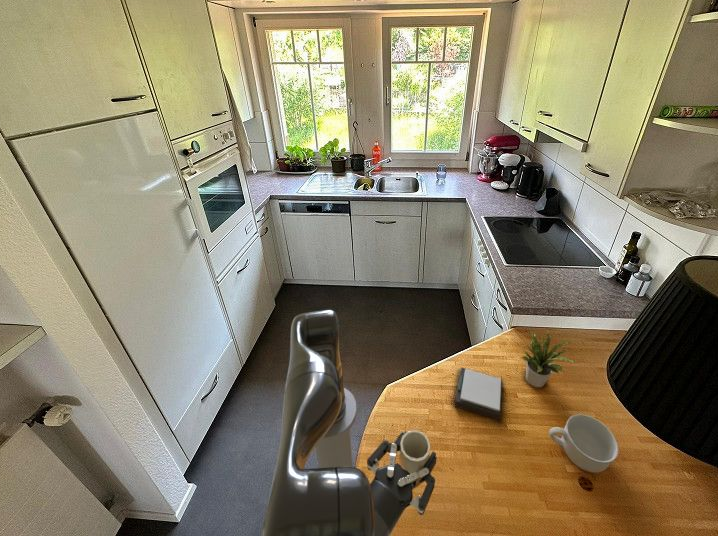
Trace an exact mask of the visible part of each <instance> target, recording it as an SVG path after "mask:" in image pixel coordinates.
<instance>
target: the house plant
mask: <svg viewBox="0 0 718 536" xmlns="http://www.w3.org/2000/svg"><path fill="white" fill-rule="evenodd" d="M529 332H530V335H531V338H532V340H531V342H529V345H530V346H531V347H530V346H528V345H527V344H525V343H521V345H522V346H524V347H525V348H527V349H528V350H529V351H530V352H531V354H532V355H533V356H531V354H529V353H528V352H527V351H526V350H525V349H522V352H524V354H525V356H521V357H519V358H520V359H523V361H526V367H525V368H526V369H525V380H526V382H527V383H528V384H529V385H530V386H532V387H534V388H542V387H544V385H545V384H546V383H547V381H548V380H549V378H550V377H551V375H553V374H552V373H556V374H558V375H560V373H559V371H560V372H561V373H563V367H562V366H561V364H558V363H553V362H556V361H560V360H561V361H568V362H570V363H573V364H576V362H575V361H574V360H572V359H571V358H568V357H564V356H561V355H564V354H565V353H566V352H570V350H569V349H564V350H561V351H558V352H557V350H559V349H560V348H562V347H564V346H566V345H567V344H569V343H571V341H563V342H560V343H558V344H556V345H555V346H553V347H552V348H551V350H549V348H550V344H551V335H550V331H549V329H547V330H546V335H545V337H546V338H545V340H544V338H543V336H542V334H541V333H539V336H540V338H541V339H540V338H539V339H537V335H536V333H534V332H532V331H531V330H529ZM541 342H542V343H541ZM548 351H549V352H548Z"/></svg>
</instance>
